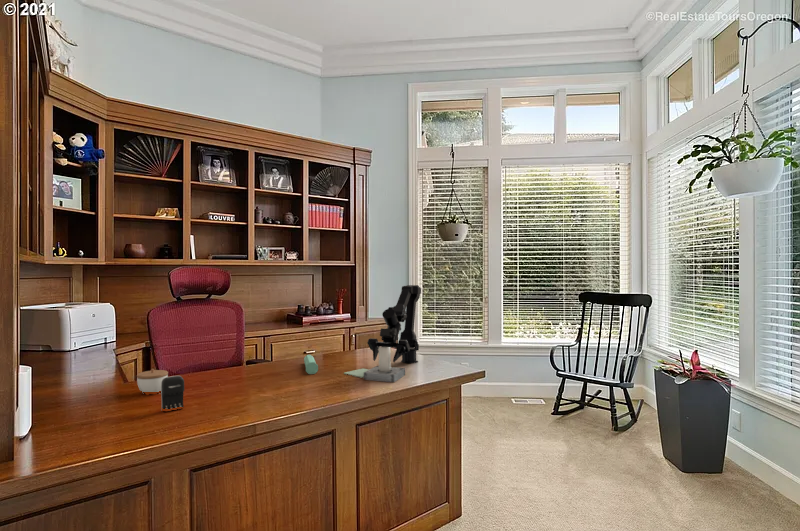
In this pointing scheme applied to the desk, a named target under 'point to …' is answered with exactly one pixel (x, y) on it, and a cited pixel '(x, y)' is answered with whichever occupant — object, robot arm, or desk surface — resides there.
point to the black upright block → (172, 392)
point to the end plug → (384, 359)
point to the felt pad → (357, 372)
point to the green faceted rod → (310, 364)
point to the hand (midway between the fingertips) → (383, 361)
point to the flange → (384, 374)
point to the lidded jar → (151, 380)
